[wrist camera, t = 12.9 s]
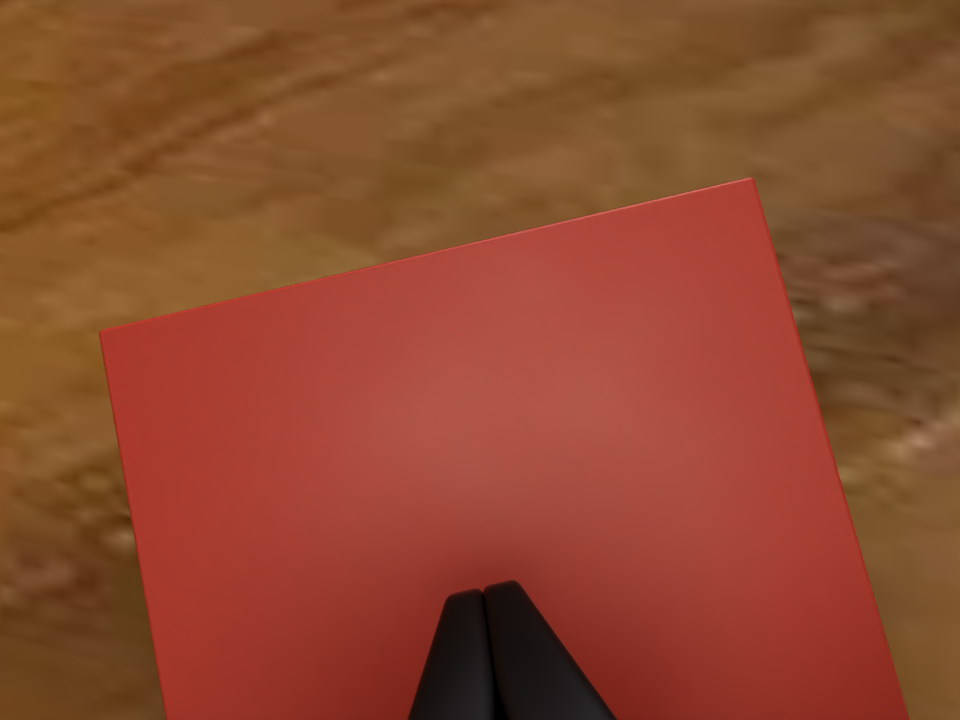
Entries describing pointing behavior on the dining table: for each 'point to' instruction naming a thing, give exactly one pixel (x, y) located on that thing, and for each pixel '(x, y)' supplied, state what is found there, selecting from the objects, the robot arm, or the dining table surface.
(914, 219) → the dining table surface
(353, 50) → the dining table surface
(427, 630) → the lid
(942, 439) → the dining table surface
